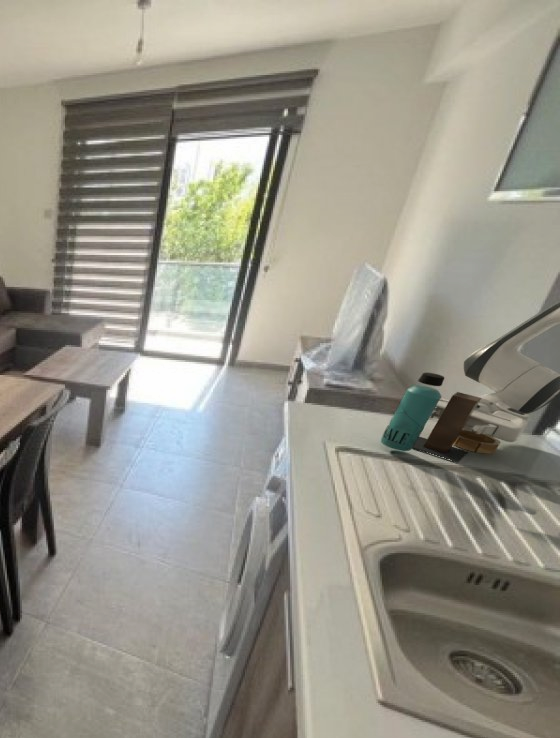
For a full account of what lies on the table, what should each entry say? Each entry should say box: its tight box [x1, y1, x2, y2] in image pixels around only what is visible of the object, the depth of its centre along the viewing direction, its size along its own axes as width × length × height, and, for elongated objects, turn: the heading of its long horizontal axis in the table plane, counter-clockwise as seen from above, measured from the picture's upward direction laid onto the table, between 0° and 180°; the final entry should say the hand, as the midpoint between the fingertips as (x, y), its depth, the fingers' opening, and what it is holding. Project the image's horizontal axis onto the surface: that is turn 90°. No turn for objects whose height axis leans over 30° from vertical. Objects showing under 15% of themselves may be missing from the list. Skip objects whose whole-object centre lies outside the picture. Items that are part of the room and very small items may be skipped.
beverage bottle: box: [380, 372, 445, 452], centre depth 114 cm, size 6×7×20 cm
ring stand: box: [453, 429, 502, 455], centre depth 124 cm, size 9×9×2 cm
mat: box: [412, 435, 469, 463], centre depth 121 cm, size 10×10×1 cm
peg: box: [423, 391, 481, 454], centre depth 117 cm, size 4×4×14 cm
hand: (451, 421), depth 117 cm, fingers open, 8 cm apart
